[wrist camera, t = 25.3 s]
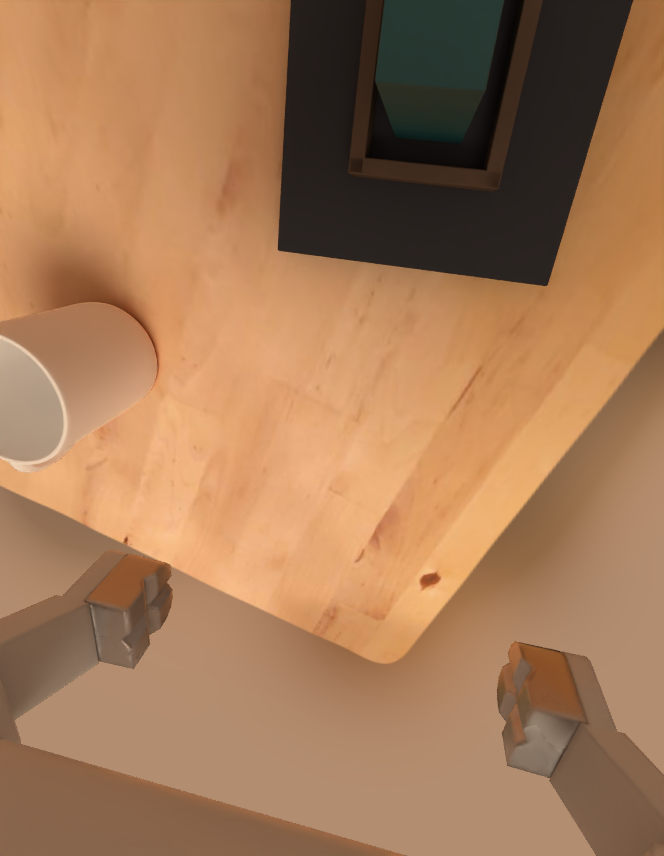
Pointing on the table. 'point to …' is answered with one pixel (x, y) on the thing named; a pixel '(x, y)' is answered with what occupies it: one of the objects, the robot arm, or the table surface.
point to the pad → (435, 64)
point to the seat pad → (443, 143)
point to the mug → (68, 378)
